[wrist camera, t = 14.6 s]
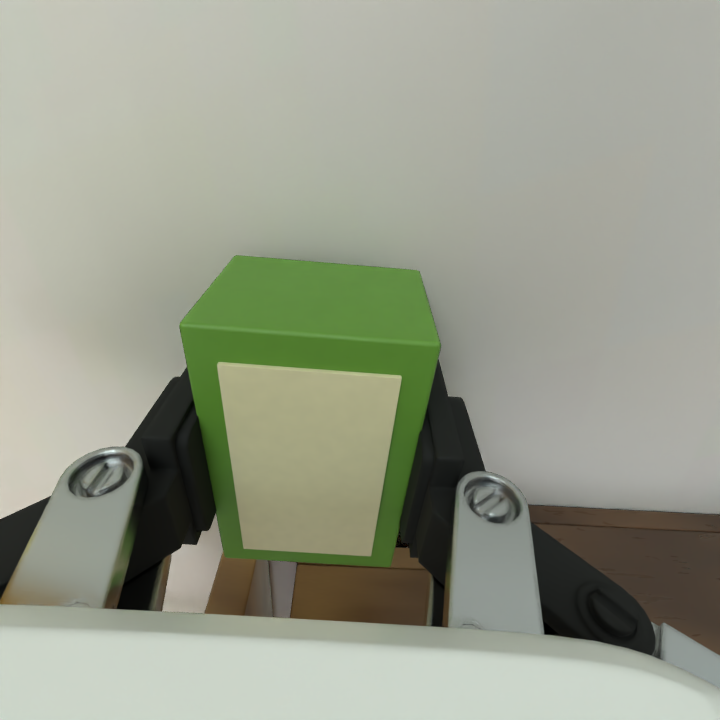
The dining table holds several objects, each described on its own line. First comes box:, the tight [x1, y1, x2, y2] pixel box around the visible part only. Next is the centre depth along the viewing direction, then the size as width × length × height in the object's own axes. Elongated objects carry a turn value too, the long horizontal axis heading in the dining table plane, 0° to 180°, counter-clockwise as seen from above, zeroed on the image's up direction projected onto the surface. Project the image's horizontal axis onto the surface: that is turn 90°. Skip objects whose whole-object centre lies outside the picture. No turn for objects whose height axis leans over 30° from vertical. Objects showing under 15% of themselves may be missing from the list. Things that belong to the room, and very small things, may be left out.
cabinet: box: [528, 505, 720, 655], centre depth 15 cm, size 15×13×9 cm
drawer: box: [204, 547, 429, 626], centre depth 15 cm, size 19×11×7 cm, turn 85°
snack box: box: [179, 255, 441, 567], centre depth 10 cm, size 7×4×4 cm, turn 175°
